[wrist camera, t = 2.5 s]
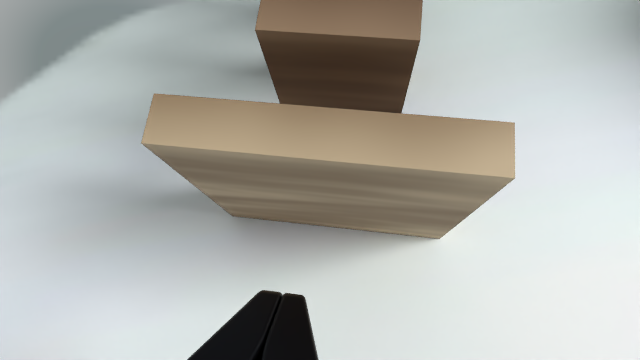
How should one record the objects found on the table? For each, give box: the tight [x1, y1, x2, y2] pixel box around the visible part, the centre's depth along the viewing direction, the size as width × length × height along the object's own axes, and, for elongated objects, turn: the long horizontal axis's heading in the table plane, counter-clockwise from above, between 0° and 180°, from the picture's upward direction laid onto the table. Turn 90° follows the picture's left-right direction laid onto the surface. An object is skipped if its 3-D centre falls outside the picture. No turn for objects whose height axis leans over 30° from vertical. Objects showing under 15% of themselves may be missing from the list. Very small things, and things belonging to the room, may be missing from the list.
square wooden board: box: [141, 94, 515, 239], centre depth 17 cm, size 2×10×10 cm, turn 83°
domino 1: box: [255, 0, 423, 113], centre depth 18 cm, size 2×5×10 cm, turn 83°
